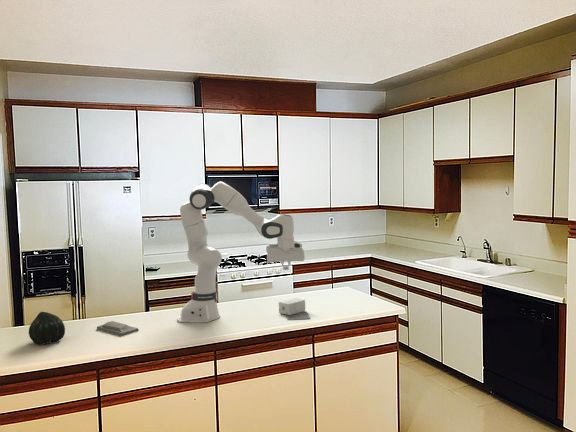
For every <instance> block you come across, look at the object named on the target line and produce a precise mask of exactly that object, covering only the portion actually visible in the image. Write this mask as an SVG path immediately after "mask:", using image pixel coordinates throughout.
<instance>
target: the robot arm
mask: <svg viewBox="0 0 576 432" xmlns="http://www.w3.org/2000/svg"><path fill="white" fill-rule="evenodd" d="M188 199H189V201H188V202H185V203H183V204H182V205H181V206H180V208H179V213H180V219H181V223H182V228H183V229H184V232H185V235H186V239H187V244H188V245H187V246H188V251H187V258H188V260H189V261H190V262H191V263H192V264H194V265H196V266H198V268H197V273H196V275H195V277H194V291H193V290H192V291H191V292H190V297H191V299H190V300H189V301H188V302H187V303H186V304H184V305H183V307H182V309H181V312H180V314H178V316H177V317H176V318H177V322H178V323H208V322H211V321H214V320H217V319H219V318H221V315H220V312H219V308H218V302H217V301H218V291H217V288H216V287H217V286H216V284H217V282H216V281H217V280H216V279H217V271H218V267H219V266H220V264H221V262H222V253H221V252H220V251H219V250H218V249H216V248H214V247H212V246H209V245H208V240H207V239H208V238H207V237H208V234H209V232H208V229H207V226H206V221H205V220H204V216H203V213H202V211H203V210H205V209H206V208H208V207H210V206H211V205H213V204H214V203H217V204H219V205H220V206H222V207H223V208H224V209H225V210H226V211H228V212H230V213H232V214H234V215H236V216H240V217H242V218H244V219H245V220H247V222H250V224H252V225H253V226H254V227H255V229H256V230H257V232H258V234H259V235H260V236H262V237H264V238H265V239H269V240H272V239H276V238H277V239H276V240H277V241H276V243H277V244H271V243H270V244H269V245H267V246H266V249H265V252H266V261H267V262H268V263H276V262H277V263H279V262H280V264H281V266H282V270H283V271H288V270H289V267H290V266H291V263H292V262H304V261H305V259H306V258H305V257H306V256H305V249H303V244H302V243H301V242H299V241H296V240H295V237H294V230H295V229H294V228H295V225H294V219H293V216H291V215H289V214H285V213H280V214H279V213H278V215H276V216H275V217H273V218H271V219H270V218H268V217H263V216H262V215H260V214H259V213H258V212H257V211H255V210H254V209H253V208H252V207H251V206H250V205H249V203H248V201H247V199H246V198H245V197H244V195H242V194H241V193H240V192H239V191H238V190H236V189H235V188H233V187H232V186H231V185H229V184H227V183H225V182H223V181H218V182H217V183H215V184H214V185H213V186H210V185H209V184H206V183H200V184H198V185H196V186H195V187H194V188H193V189H192V190H191V193H190V194H189V198H188ZM284 262H287V265H286V266H285V265H284V264H285V263H284Z"/></svg>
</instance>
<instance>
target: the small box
mask: <svg viewBox="0 0 576 432" xmlns="http://www.w3.org/2000/svg"><path fill="white" fill-rule="evenodd" d="M305 311H306V300H305V299H301V298H295V297H294V298H290V299H286V300H282V301H278V313H279V314H282V315H285V316H286V315H292V314H296V313H299V312H305Z"/></svg>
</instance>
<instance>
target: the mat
mask: <svg viewBox="0 0 576 432" xmlns="http://www.w3.org/2000/svg"><path fill="white" fill-rule="evenodd" d="M285 316H286V319H287V321H296V320H297V321H298V320H311V317H310V315H309V313H308V311H306V310H305V311H303V312H299V313H296V314H292V315H286V314H285Z"/></svg>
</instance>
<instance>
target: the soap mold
mask: <svg viewBox="0 0 576 432" xmlns="http://www.w3.org/2000/svg"><path fill="white" fill-rule="evenodd" d="M139 330H140V329H139V327H134V326H130V325H128V324H126V323H121V322H118V321H114V320H111V321H107V322H105V323H104V324H101V325H97V327H96V331H100V332H103V333H107V334H111V335H115V336H119V337H123V336H126V335H130V334H132V333H136V332H138V331H139Z"/></svg>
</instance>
